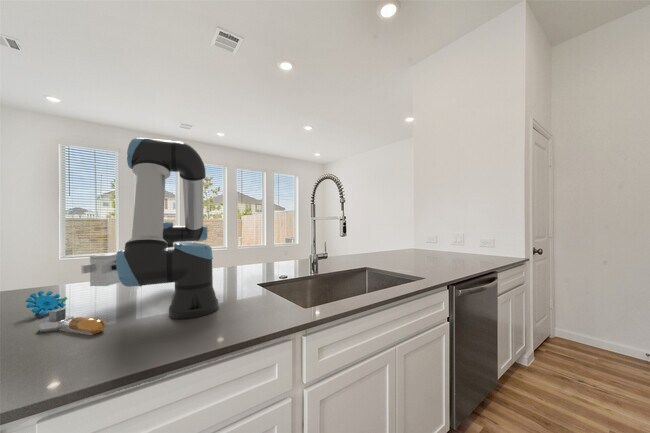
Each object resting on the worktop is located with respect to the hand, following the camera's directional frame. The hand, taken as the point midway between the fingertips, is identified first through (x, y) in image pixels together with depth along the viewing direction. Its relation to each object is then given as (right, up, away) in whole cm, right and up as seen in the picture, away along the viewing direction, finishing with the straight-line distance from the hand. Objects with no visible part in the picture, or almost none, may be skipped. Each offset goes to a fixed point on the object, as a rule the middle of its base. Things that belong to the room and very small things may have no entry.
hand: (91, 269), depth 85 cm
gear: (-17, -16, +3) cm, 24 cm away
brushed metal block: (+1, -6, +5) cm, 8 cm away
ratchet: (+5, -15, -11) cm, 19 cm away
